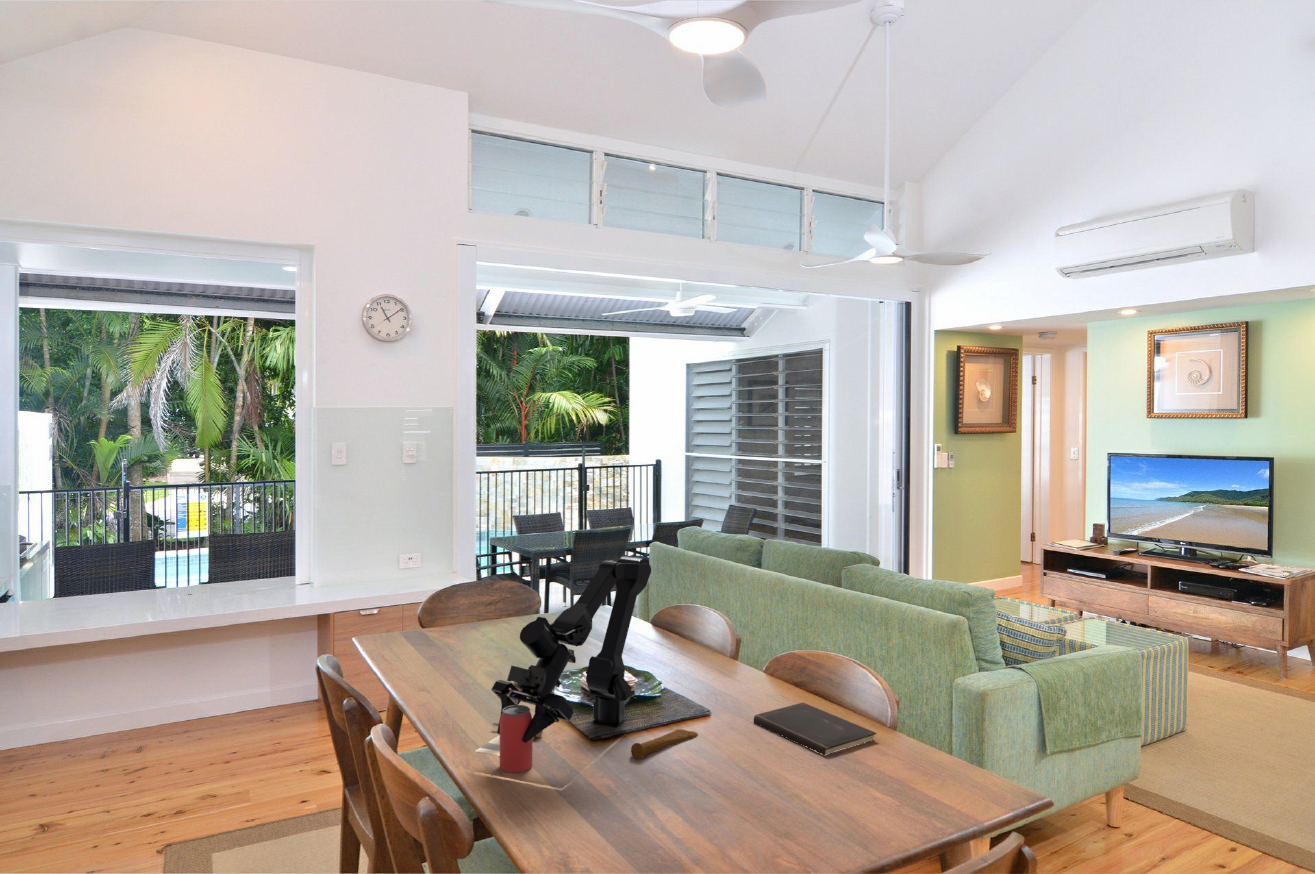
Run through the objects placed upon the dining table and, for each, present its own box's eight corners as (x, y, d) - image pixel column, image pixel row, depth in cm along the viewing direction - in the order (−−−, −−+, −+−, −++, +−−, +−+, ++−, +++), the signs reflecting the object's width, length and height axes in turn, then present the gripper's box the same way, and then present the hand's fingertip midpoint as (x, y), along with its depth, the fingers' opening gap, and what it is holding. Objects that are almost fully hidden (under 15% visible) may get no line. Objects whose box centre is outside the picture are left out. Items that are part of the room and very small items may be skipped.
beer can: (517, 778, 162) (517, 717, 162) (492, 770, 165) (492, 711, 165) (539, 766, 167) (539, 707, 167) (514, 758, 171) (514, 701, 171)
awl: (542, 735, 183) (542, 724, 183) (537, 739, 180) (537, 728, 180) (496, 727, 187) (496, 716, 187) (490, 731, 185) (490, 720, 185)
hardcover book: (803, 711, 201) (803, 702, 201) (876, 742, 182) (876, 732, 182) (753, 724, 192) (753, 715, 192) (824, 759, 173) (824, 748, 173)
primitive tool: (680, 730, 188) (680, 715, 188) (700, 736, 185) (700, 721, 185) (628, 758, 172) (628, 742, 172) (649, 765, 169) (649, 748, 169)
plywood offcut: (542, 733, 185) (542, 731, 185) (507, 759, 171) (507, 757, 171) (512, 728, 188) (512, 726, 188) (474, 753, 174) (474, 751, 174)
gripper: (497, 641, 174) (457, 708, 166) (564, 657, 164) (525, 728, 155) (523, 669, 181) (486, 734, 172) (589, 685, 170) (553, 756, 162)
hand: (511, 737), depth 165 cm, fingers closed on beer can, 7 cm apart
